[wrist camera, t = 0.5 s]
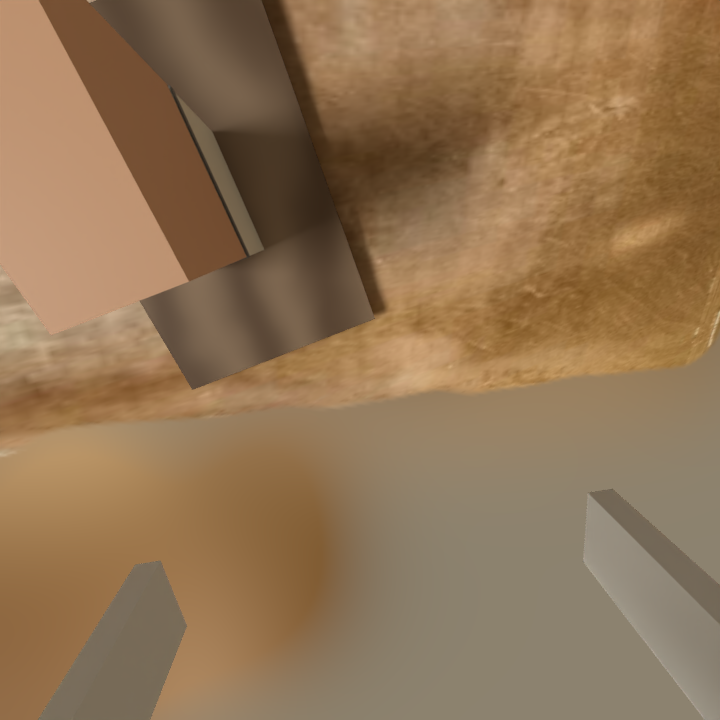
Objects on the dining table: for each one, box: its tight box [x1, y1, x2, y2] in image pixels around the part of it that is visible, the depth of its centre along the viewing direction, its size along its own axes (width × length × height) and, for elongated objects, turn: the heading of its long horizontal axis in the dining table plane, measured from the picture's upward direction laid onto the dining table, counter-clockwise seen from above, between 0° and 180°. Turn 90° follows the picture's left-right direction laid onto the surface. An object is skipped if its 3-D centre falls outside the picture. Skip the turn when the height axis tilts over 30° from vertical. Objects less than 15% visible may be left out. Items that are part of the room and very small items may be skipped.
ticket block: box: [168, 85, 264, 268], centre depth 22 cm, size 4×8×8 cm, turn 20°
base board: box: [89, 0, 375, 390], centre depth 26 cm, size 16×24×2 cm, turn 20°
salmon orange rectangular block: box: [0, 0, 247, 335], centre depth 13 cm, size 4×8×10 cm, turn 20°
